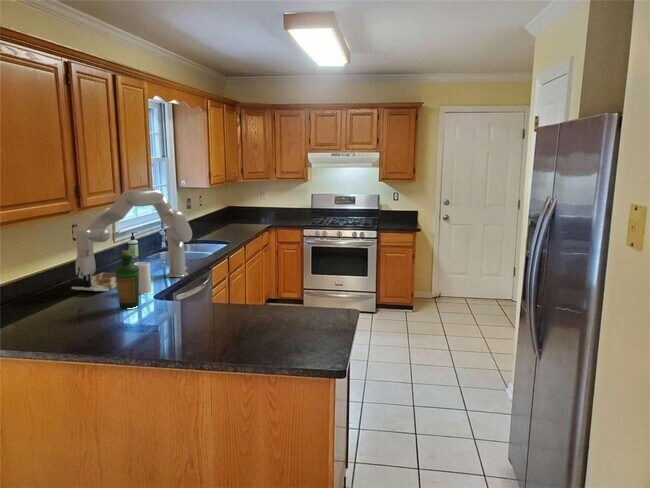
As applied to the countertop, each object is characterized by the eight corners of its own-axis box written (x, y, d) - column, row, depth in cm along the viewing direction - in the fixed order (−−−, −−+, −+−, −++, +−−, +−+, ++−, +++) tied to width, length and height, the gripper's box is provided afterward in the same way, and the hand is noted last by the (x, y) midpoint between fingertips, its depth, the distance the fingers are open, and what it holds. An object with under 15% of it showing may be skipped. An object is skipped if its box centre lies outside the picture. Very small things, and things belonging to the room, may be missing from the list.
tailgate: (89, 287, 251) (71, 286, 238) (110, 288, 249) (93, 288, 236) (89, 289, 251) (71, 289, 238) (110, 291, 249) (93, 290, 236)
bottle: (112, 308, 219) (108, 251, 214) (130, 303, 229) (127, 248, 224) (127, 312, 215) (124, 254, 210) (146, 306, 224) (143, 250, 219)
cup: (154, 290, 251) (152, 262, 248) (146, 295, 243) (145, 265, 240) (139, 290, 252) (138, 261, 249) (132, 294, 244) (130, 264, 241)
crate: (103, 283, 263) (102, 272, 262) (124, 284, 261) (123, 273, 260) (89, 289, 252) (88, 277, 250) (111, 290, 249) (110, 279, 248)
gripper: (88, 250, 245) (90, 283, 248) (68, 255, 231) (70, 290, 234) (101, 250, 244) (103, 284, 247) (81, 256, 229) (84, 291, 232)
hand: (87, 287), depth 240 cm, fingers closed
